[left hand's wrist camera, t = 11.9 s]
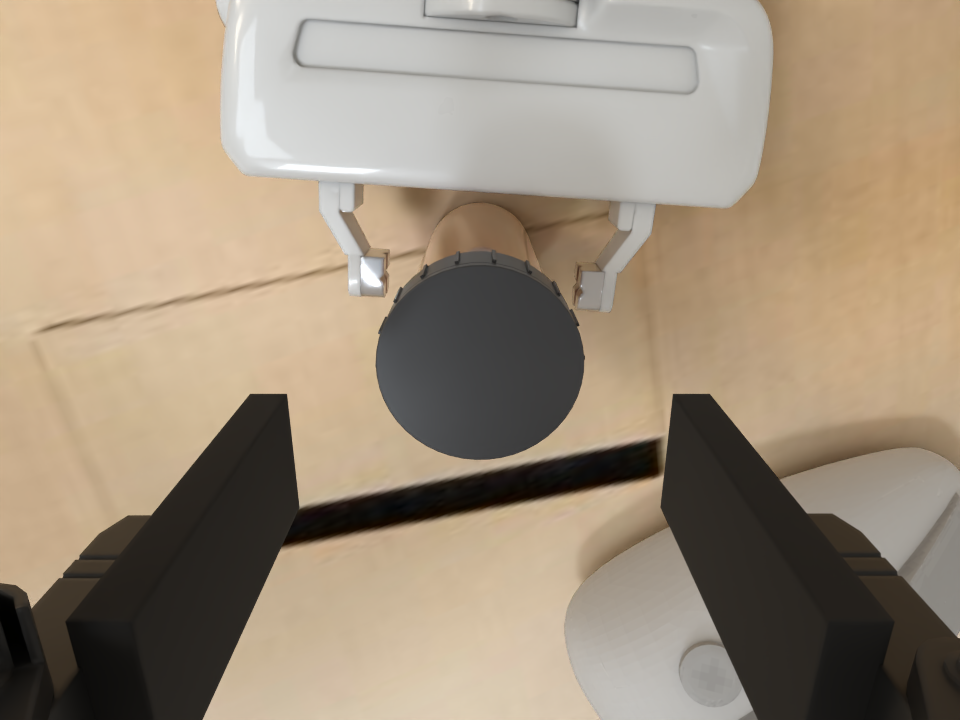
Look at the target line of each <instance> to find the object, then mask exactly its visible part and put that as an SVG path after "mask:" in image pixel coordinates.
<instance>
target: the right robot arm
mask: <svg viewBox="0 0 960 720" xmlns="http://www.w3.org/2000/svg"><path fill="white" fill-rule="evenodd" d="M216 5H217V10H218V13H219V16H220V19H221V21H222V23H223V25H224V26H225V35H224V45H223V56H222V70H221V91H220V132H221V143H222V147H223V149H224V151H225V153H226V154H227V155H228V157H229V158H230V159H231V160H232V162H233V163H234V164H235V166H236V167H237V168H238V169H239V170H240V172H241V173H242V174H244V175H246V176H252V177H266V178H281V179H295V180H310V181H319V211H320V213H321V215H322V216H323V218H324V220H325V222H326V223H327V225H328V227H329V228H330V230H331V232H332V234H333V235H334V237H335V239H336V240H337V242H338V244H339V245H340V247H341V249H342V251H343V252H344V254H345V255H348V291H349V295H350V296H359V297H361V296H364V297H384V298H385V295H386V293H387V292H388V287H389V274H388V272H387V271H386V269H387V268H388V266H389V250H388V249H377V248H370V247H371V246H370V245H369V243H368V241H367V239H366V237H365V235H364V233H363V231H362V229H361V227H360V225H359V224H358V222H357V220H356V218H355V216H354V214H353V211H354V210H355V209H357V208H358V207H359V206H360V205H362V204H363V187H364V184H369V185H384V186H398V187H413V188H428V189H442V190H457V191H472V192H486V193H501V194H516V195H530V196H545V197H560V198H575V199H589V200H604V201H610V207H609V216H608V220H609V222H610V223H611V224H613V225H614V226H615V227H616V228H618V230H617V231H616V232H615V234H614V235H613V237H612V238H611V239H610V241H609V242H608V244H607V245H606V246H605V248H604V249H603V251H602V252H601V253H600V255H599V256H598V258H597V259H596V261H595V263H589V262H576V267H575V275H574V277H575V279H576V281H577V283H576V284H575V285H574V286H573V293H572V303H573V305H574V306H575V309H576V310H581V311H594V312H609V313H610V312H611V309H612V306H613V300H614V293H615V286H616V279H617V273H621V271H622V270H623V269H624V268H625V266H626V265H627V264H628V263H629V261H630V260H631V259H632V257H633V256H634V255H635V254H636V252H637V251H638V250H639V249H640V247H641V246H642V245H643V243H644V242H645V241H646V240H647V238H648V237H649V236H650V235H651V232H652V226H653V220H654V214H655V207H656V204H663V205H677V206H692V207H707V208H723V209H726V208H730V207H732V206H733V205H734V204H735V203H736V202H737V201H739V200H740V199H741V198H742V196H743V195H744V194H745V193H746V192H747V191H748V190H749V189H750V188H751V187H752V186H753V185H754V183H755V181H756V178H757V175H758V172H759V168H760V163H761V159H762V153H763V148H764V142H765V136H766V129H767V122H768V114H769V105H770V96H771V85H772V70H773V36H772V29H771V25H770V21H769V18H768V15H767V13H766V11H765V9H764V8H763V6H762V5H761V3H760V2H759V1H758V0H216Z"/></svg>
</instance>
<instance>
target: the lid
mask: <svg viewBox="0 0 960 720" xmlns="http://www.w3.org/2000/svg"><path fill="white" fill-rule="evenodd" d="M393 302H394V304H393V306H392V308H391V310H390V312H389V314H388V317H385V319H384V321H383V323H382V325H381V327H380V329H379V332H378V334H380V337H379V341H378V346H377V351H376V372H377V379H378V384H379V388H380V391H381V393H382V396H383V399H384V401H385V403H386V405H387V407H388V409H389V410H390V412H391V413H392V415H393V416H394V418H395V419H396V420H397V422H398V423H399V424H400V425H401V426H402V427H403V428H404V429H405V430H406V431H407V432H408V433H409V434H410V435H412V436H413V437H414V438H415V439H417V440H418V441H420V442H421V443H423V444H424V445H426V446H428V447H430V448H432V449H434V450H436V451H438V452H441V453H444V454H447V455H450V456H454V457H459V458H464V459H474V460H485V459H495V458H502V457H506V456H510V455H514V454H516V453H519V452H522V451H524V450H526V449H528V448H530V447H532V446H534V445H536V444H538V443H539V442H540V441H542V440H543V439H545V438H546V437H547V436H549V435H550V434H551V433H552V432H553V431H554V430H555V429H556V428H557V427H558V426H559V425H560V424H561V423H562V422H563V420H564V419H565V418H566V416H567V415H568V413H569V412H570V410H571V409H572V407H573V405H574V403H575V401H576V399H577V397H578V394H579V391H580V388H581V384H582V379H583V373H584V360H585V356H584V352H583V345H582V341H581V337H580V333H579V331H578V328H577V326H579V323H578V321H577V319H576V317H575V314H574V312H573V310H572V309H571V310H569V308H568V305H567V303H566V302H565V300H564V298H563V296H562V295H561V293H560V291H559V288H558V286H557V284H556V282H555V281H553V282H551V281H550V280H549V279H548V278H547V277H546V276H545V275H544V274H543V273H541V272H540V271H539V270H537V269H536V268H535V267H533V266H531V265H530V263H529V261H528V260H526V261H525V262H524V261H522V260H520V259H517V258H515V257H512V256H509V255H505V254H501V253H496V251H495V250H492V252H487V251H471V252H465V253H460V251H457V252H456V254H455V255H451V256H448V257H445V258H443V259H440V260H438V261H436V262H434V263H432V264H430V265H429V266H428V265H427V264H426V265H424V266H423V269H422V270H421V271H420V272H419V273H417V274H416V275H415V276H414V277H413V278H412V279H411V280H410V281H409V282H408V283H407V284H406V285H405V286H404V288H402V287H400V289H399V290H398V292H397V295H396V297H395V299H394V301H393Z"/></svg>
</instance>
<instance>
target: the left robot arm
mask: <svg viewBox="0 0 960 720" xmlns="http://www.w3.org/2000/svg"><path fill="white" fill-rule="evenodd" d="M298 509H299V499H298V490H297V481H296V472H295V463H294V454H293V445H292V436H291V427H290V418H289V409H288V399H287V394H250V395H249V396H248V397H247V399H246V400H245V401H244V402H243V404H242V405H241V406H240V407H239V409H238V410H237V411H236V412H235V413H234V415H233V416H232V417H231V418H230V420H229V421H228V422H227V423H226V424H225V426H224V427H223V428H222V429H221V431H220V432H219V433H218V434H217V436H216V437H215V438H214V439H213V440H212V442H211V443H210V444H209V445H208V447H207V448H206V449H205V450H204V452H203V453H202V454H201V455H200V456H199V458H198V459H197V460H196V461H195V463H194V464H193V465H192V466H191V467H190V469H189V470H188V471H187V472H186V474H185V475H184V476H183V477H182V479H181V480H180V481H179V482H178V483H177V485H176V486H175V487H174V488H173V490H172V491H171V492H170V493H169V495H168V496H167V497H166V498H165V499H164V501H163V502H162V503H161V504H160V506H159V507H158V508H157V509H156V511H155V512H154V513H153V514H152V515H151V516H127V517H125V518H123V519H122V520H120V521H119V522H117V523H116V524H114V525H112V526H111V527H109V528H108V529H106V530H105V531H103V532H101V533H100V534H99V535H98V536H97V537H96V538H95V539H94V540H93V541H92V542H91V543H90V545H89V546H88V547H87V548H86V549H85V550H84V551H83V552H82V553H81V555H80V558H79V560H75V561H74V562H73V563H72V565H71V566H70V567H69V568H68V569H67V570H66V571H65V572H64V573H63V578H59V579H58V580H57V581H56V582H55V583H54V584H53V586H52V587H51V588H50V589H49V590H48V591H47V592H46V593H45V594H44V596H43V597H42V598H41V599H40V600H39V601H38V602H37V603H36V604H35V606H34V607H33V608H32V609H31V606H30V603H29V599H28V596H27V593H26V592H24V591H23V590H22V589H20V588H19V587H18V586H16V585H9V584H2V583H0V720H202V719H203V717H204V715H205V713H206V711H207V709H208V706H209V704H210V702H211V700H212V698H213V695H214V693H215V691H216V689H217V687H218V684H219V682H220V680H221V678H222V676H223V674H224V671H225V669H226V667H227V665H228V663H229V660H230V658H231V656H232V654H233V652H234V649H235V647H236V645H237V643H238V641H239V638H240V636H241V634H242V632H243V630H244V628H245V625H246V623H247V621H248V619H249V617H250V614H251V612H252V610H253V608H254V606H255V603H256V601H257V599H258V597H259V595H260V592H261V590H262V588H263V586H264V584H265V582H266V579H267V577H268V575H269V573H270V571H271V568H272V566H273V564H274V562H275V560H276V557H277V555H278V553H279V551H280V549H281V546H282V544H283V542H284V540H285V538H286V536H287V533H288V531H289V529H290V527H291V525H292V522H293V520H294V518H295V516H296V514H297V511H298ZM661 509H662V511H663V514H664V516H665V518H666V520H667V522H668V525H669V527H670V529H671V531H672V533H673V536H674V538H675V540H676V542H677V544H678V546H679V549H680V551H681V553H682V555H683V557H684V560H685V562H686V564H687V566H688V568H689V571H690V573H691V575H692V577H693V579H694V582H695V584H696V586H697V588H698V590H699V592H700V595H701V597H702V599H703V601H704V603H705V606H706V608H707V610H708V612H709V614H710V617H711V619H712V621H713V623H714V625H715V628H716V630H717V632H718V634H719V636H720V638H721V641H722V643H723V645H724V647H725V649H726V652H727V654H728V656H729V658H730V660H731V663H732V665H733V667H734V669H735V671H736V674H737V676H738V678H739V680H740V682H741V684H742V687H743V689H744V691H745V693H746V695H747V698H748V700H749V702H750V704H751V706H752V709H753V711H754V713H755V715H756V717H757V719H758V720H960V638H957V636H956V635H955V634H954V633H953V632H952V631H951V630H950V629H949V628H948V627H947V625H946V624H945V623H944V622H943V621H942V620H941V619H940V618H939V617H938V615H937V614H936V613H935V612H934V611H933V610H932V609H931V608H930V607H929V606H928V604H927V603H926V602H925V601H924V600H923V599H922V598H921V597H920V596H919V595H918V593H917V592H916V591H915V590H914V589H913V588H912V587H911V586H910V585H909V584H908V582H907V581H906V580H905V579H904V578H903V577H902V576H898V574H897V570H896V569H895V568H894V567H893V566H892V565H891V564H890V563H889V562H888V560H887V559H886V558H882V557H881V553H880V552H879V551H878V549H877V548H876V547H875V546H874V545H873V544H872V543H871V542H870V541H869V540H868V538H867V537H866V536H865V535H864V534H863V533H862V532H861V531H859V530H858V529H856V528H855V527H853V526H852V525H850V524H848V523H847V522H845V521H844V520H842V519H840V518H839V517H837V516H836V515H834V514H833V513H806V512H805V511H804V509H803V508H802V507H801V506H800V504H799V503H798V502H797V501H796V499H795V498H794V497H793V496H792V495H791V493H790V492H789V491H788V490H787V488H786V487H785V486H784V485H783V483H782V482H781V481H780V480H779V479H778V477H777V476H776V475H775V474H774V472H773V471H772V470H771V469H770V467H769V466H768V465H767V464H766V463H765V461H764V460H763V459H762V458H761V456H760V455H759V454H758V453H757V452H756V450H755V449H754V448H753V447H752V445H751V444H750V443H749V442H748V440H747V439H746V438H745V437H744V436H743V434H742V433H741V432H740V431H739V429H738V428H737V427H736V426H735V424H734V423H733V422H732V421H731V420H730V418H729V417H728V416H727V415H726V413H725V412H724V411H723V410H722V409H721V407H720V406H719V405H718V404H717V402H716V401H715V400H714V399H713V397H712V396H711V395H710V394H673V399H672V408H671V418H670V427H669V436H668V445H667V454H666V463H665V472H664V481H663V490H662V499H661Z"/></svg>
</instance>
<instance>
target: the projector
mask: <svg viewBox="0 0 960 720" xmlns="http://www.w3.org/2000/svg"><path fill="white" fill-rule="evenodd" d="M779 480H780V481H781V482H782V483H783V485H784V486H785V487H786V488H787V490H788V491H789V492H790V493H791V495H792V496H793V497H794V498H795V499H796V501H797V502H798V503H799V504H800V506H801V507H802V508H803V509H804V511H805V512H806V513H833V514H834V515H836V516H837V517H839V518H840V519H842V520H844V521H845V522H847V523H848V524H850V525H852V526H853V527H855V528H856V529H858V530H859V531H861V532H862V533H863V534H864V535H865V536H866V537H867V538H868V540H869V541H870V542H871V543H872V544H873V545H874V546H875V547H876V548H877V549H878V551H879V552H880V553H881V557H882V558H886V559H887V560H888V562H889V563H890V564H891V565H892V566H893V567H894V568H895V569H896V570H897V574H898V576H902V577H903V578H904V579H905V580H906V581H907V582H908V584H909V585H910V586H911V587H912V588H913V589H914V590H915V591H916V592H917V593H918V595H919V596H920V597H921V598H922V599H923V600H924V601H925V602H926V603H927V604H928V606H929V607H930V608H931V609H932V610H933V611H934V612H935V613H936V614H937V615H938V617H939V618H940V619H941V620H942V621H943V622H944V623H945V624H946V625H947V627H948V628H949V629H950V630H951V631H952V632H953V633H954V634H955V635H956V636H957V635H958V633H959V631H960V471H959V470H958V469H957V467H955V466H954V465H953V464H952V463H951V462H950V461H948V460H947V459H946V458H944V457H942V456H940V455H938V454H936V453H934V452H932V451H929V450H925V449H922V448H915V447H909V448H896V449H890V450H884V451H879V452H874V453H870V454H865V455H861V456H857V457H853V458H849V459H845V460H841V461H838V462H834V463H830V464H827V465H823V466H820V467H817V468H813V469H810V470H807V471H804V472H800V473H797V474H794V475H791V476H788V477H785V478H782V479H779ZM565 640H566V647H567V651H568V655H569V659H570V663H571V666H572V669H573V671H574V674H575V676H576V679H577V681H578V683H579V685H580V687H581V688H582V690H583V692H584V694H585V696H586V698H587V699H588V701H589V702H590V704H591V705H592V707H593V709H594V710H595V712H596V713H597V715H598V716H599V717H600V719H601V720H758V719H757V717H756V715H755V713H754V711H753V709H752V706H751V704H750V702H749V700H748V698H747V695H746V693H745V691H744V689H743V687H742V684H741V682H740V680H739V678H738V676H737V674H736V671H735V669H734V667H733V665H732V663H731V660H730V658H729V656H728V654H727V652H726V649H725V647H724V645H723V643H722V641H721V638H720V636H719V634H718V632H717V630H716V628H715V625H714V623H713V621H712V619H711V617H710V614H709V612H708V610H707V608H706V606H705V603H704V601H703V599H702V597H701V595H700V592H699V590H698V588H697V586H696V584H695V582H694V579H693V577H692V575H691V573H690V571H689V568H688V566H687V564H686V562H685V560H684V557H683V555H682V553H681V551H680V549H679V546H678V544H677V542H676V540H675V538H674V536H673V533H672V531H671V529H670V527H667V528H665V529H663V530H661V531H659V532H657V533H656V534H654V535H652V536H650V537H648V538H646V539H645V540H643V541H641V542H639V543H637V544H636V545H634V546H632V547H631V548H629V549H627V550H626V551H624V552H622V553H621V554H619V555H617V556H616V557H614V558H613V559H611V560H610V561H609V562H607V563H606V564H604V565H603V566H601V567H600V568H599V569H598V570H596V571H595V572H594V573H593V574H592V575H591V576H589V577H588V578H587V579H586V580H585V581H584V582H583V583H582V584H581V586H580V587H579V588H578V589H577V591H576V592H575V594H574V595H573V597H572V599H571V601H570V603H569V606H568V608H567V612H566V617H565Z"/></svg>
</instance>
